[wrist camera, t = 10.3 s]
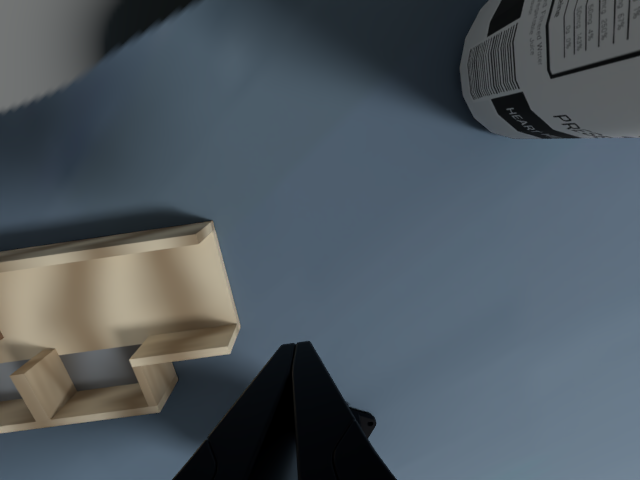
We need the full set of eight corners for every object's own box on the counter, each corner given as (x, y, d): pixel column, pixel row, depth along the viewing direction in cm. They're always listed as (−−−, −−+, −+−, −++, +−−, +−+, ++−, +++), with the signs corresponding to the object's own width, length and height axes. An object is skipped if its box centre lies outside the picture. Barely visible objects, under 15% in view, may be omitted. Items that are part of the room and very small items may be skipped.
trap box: (212, 220, 20) (195, 234, 17) (252, 370, 23) (243, 401, 21) (-137, 271, 20) (-211, 292, 17) (-43, 409, 24) (-91, 445, 21)
